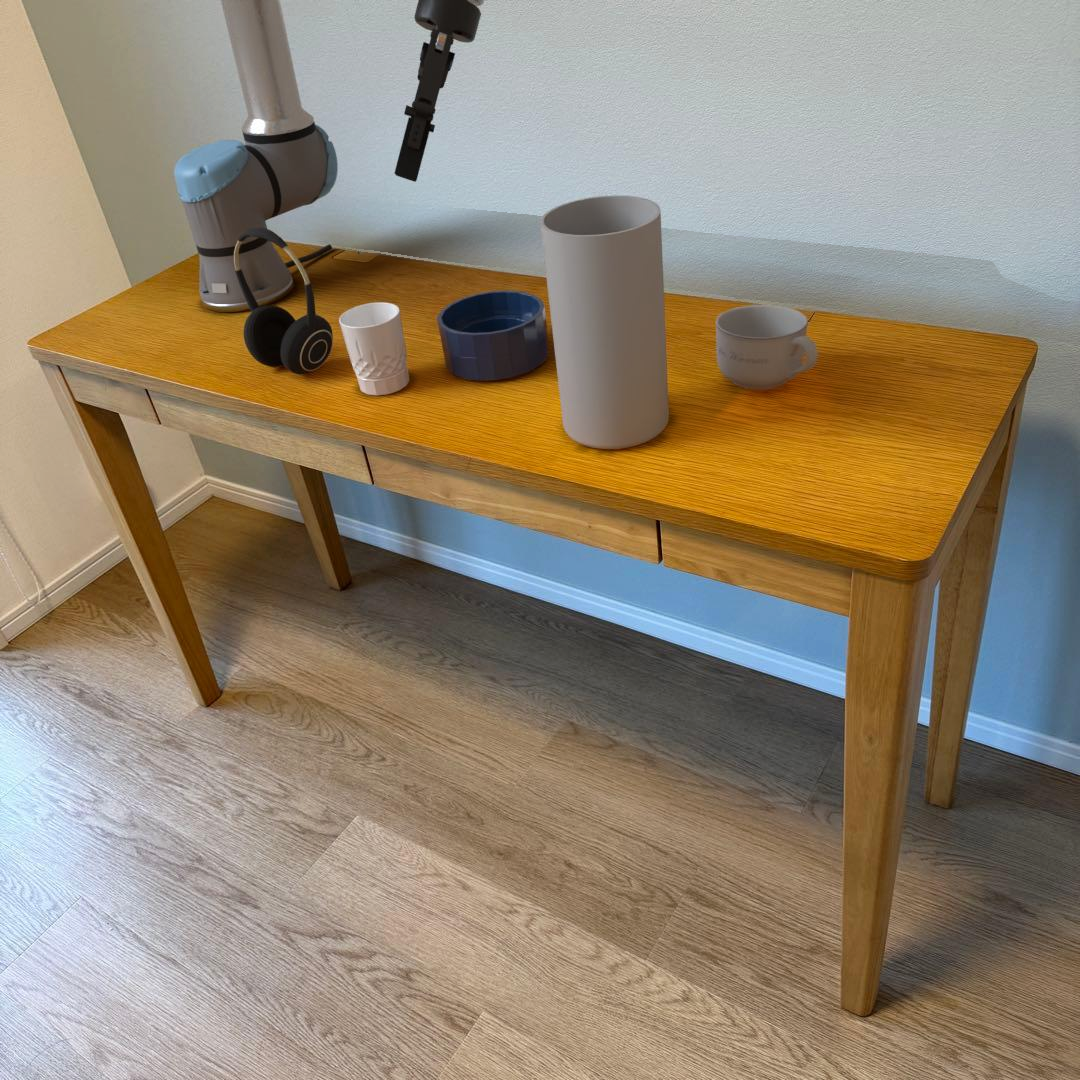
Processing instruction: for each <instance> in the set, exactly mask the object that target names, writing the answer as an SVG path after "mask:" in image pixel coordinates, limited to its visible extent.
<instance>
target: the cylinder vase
mask: <svg viewBox="0 0 1080 1080" xmlns="http://www.w3.org/2000/svg"><path fill="white" fill-rule="evenodd" d="M539 222H540V232H541V242H542V249H543V258H544V267H545V277H546V287H547V295H548V302H549V312H550V322H551V330H552V339H553V348H554V356H555V357H554V358H555V365H556V375H557V385H558V391H559V401H560V402H559V403H560V411H561V419H562V427H563V429H564V432H565V433H566V435H567V436H568V437H569V438H570V439H571V440H573V441H574V442H576V443H578V444H580V445H582V446H584V447H589V448H592V449H599V450H623V449H627V448H632V447H636V446H639V445H643V444H645V443H647V442H650V441H651V440H653V439H655V438H656V437H658V436H659V435H660V434H661V433H663V431H664V430H665V428H666V426H667V425H668V423H669V418H670V411H669V410H670V408H669V383H668V360H667V359H668V358H667V357H668V355H667V336H666V335H667V334H666V333H667V332H666V331H667V330H666V313H665V311H666V310H665V309H666V308H665V283H664V260H663V238H662V237H663V235H662V234H663V233H662V211H661V206H660V205H659V204H658V203H656V202H655V201H653V200H651V199H648V198H644V197H640V196H633V195H618V194H617V195H599V196H591V197H585V198H579V199H575V200H572V201H568V202H565V203H562V204H559V205H556V206H554V207H552V208H551V209H549V210H547V212H545V213H544V214H543V215H541V218H540V221H539Z"/></svg>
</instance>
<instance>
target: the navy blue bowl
mask: <svg viewBox="0 0 1080 1080" xmlns="http://www.w3.org/2000/svg"><path fill="white" fill-rule="evenodd" d="M436 321H437V325H438V331H439V336H440V343H441V347H442V353H443V358H444V364H445V367H446V370H447V371H449V372H450V374H452V375H453V376H456V377H459V378H462V379H464V380H471V381H479V382H480V381H481V382H482V381H498V380H503V379H511V378H514V377H517V376H521V375H523V374H527V373H529V372H531V371H533V370H534V369H536V368H538V367H540V366H541V365H542V364H543V363H544V362H545V361H546V360H547V359H548V357H549V353H550V342H549V334H548V326H547V325H548V323H547V315H546V307H545V304H544V302H543V300H542V298H540V297H538V296H537V295H535V294H533V293H529V292H527V291H526V292H525V291H520V290H507V289H506V290H492V291H490V290H489V291H485V292H479V293H478V292H477V293H475V294H471V295H468V296H465V297H461V298H459V299H456V300H455V301H453V302H451V303H448V304H447V305H446V306H445V307H444V308H443V309H441V310H440V312H439V313H438V315H437V317H436Z"/></svg>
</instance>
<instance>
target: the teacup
mask: <svg viewBox="0 0 1080 1080" xmlns="http://www.w3.org/2000/svg"><path fill="white" fill-rule="evenodd" d="M808 319H809V318H808V317H807V315H805V314H804V313H802V312H801V311H799V310H797V309H795V308H793V307H789V306H784V305H776V304H752V305H743V306H738V307H733V308H730V309H728V310H726V311H723V312H722V313H721V314H719V315H717V317H716V319H715V327H716V332H715V333H716V334H715V335H716V338H715V345H716V347H715V348H716V349H715V350H716V351H715V352H716V353H715V354H716V362H717V363H716V364H717V366H718V369H719V371H720V373H721V374H722V375H723V376H724V377H725V378H727V379H728V380H729V381H731V383H733V384H734V385H736V386H737V387H739V388H743V389H747V390H754V391H764V390H765V391H767V390H771V389H772V390H773V389H776V388H779V387H781V386H783V385H784V384H786V383H787V382H788V381H790V380H794V379H797V377H798V375H802V374H804V373H806V372H808V371H810V370H811V369H813V368H814V367H815V366H816V364H817V361H818V359H819V358H818V357H819V352H818V348H817V345H816V343H815V342H814V340H813V339H811V338H810V337H809V336H807V329H808V326H809V320H808ZM804 357H805V358H804ZM804 359H805V361H804ZM803 362H804V363H803Z"/></svg>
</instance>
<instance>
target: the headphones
mask: <svg viewBox="0 0 1080 1080" xmlns="http://www.w3.org/2000/svg"><path fill="white" fill-rule="evenodd" d="M250 236H253V237H259V238H264V239H266V240H268V241H270V242H271V243H272V244H273V245H275V246H277V247H279V248H280V249H281V250H284V252H286V254H287V255H288V256H289V257H290V259H292V260H293V261H294V262H295V264H296V265H295V266H296V267H297V268H298V270H299V272H300V274H301V276H302V278H303V281H304V284H303V285H304V291H305V297H306V314H305V315H303V316H301V317H299V318H297V319H295V318H294V316H293V315H292V314H291V313H290V312H289V311H287V310H286V309H284V308H283V307H280V306H278V305H275V304H268V305H265V306H262V307H259V305H258V303H257V302H256V300H255V298H254V296H253V294H252V292H251V290H250V288H249V286H248V284H247V282H246V280H245V277H244V275H243V272H242V270H241V269H240V266H239V259H238V254H239V248H240V245H241V243H242V241H244V240H245V239H246V238H247V237H250ZM298 258H299V257H297V256H296V254H295V253H294V252H293V251H292V249H291V248H290V247H289V245H288V243H286V241H285V240H284V239H283V238H282V237H280V236H279V235H278V234H277V233H275V232H274V231H273V230H271V229H268V228H267V229H266V228H251V229H248V230H246V231H244V232H243V233H241V235H240V236H239V238H238V242H237V244H236V247H235V250H234V264H235V269H236V270H235V272H236V275H237V278H238V281H239V284H240V287H241V289H242V292H243V294H244V297H245V299H246V301H247V304H248V306H249V308H250V310H249V311H250V313H249V315H248V316H247V317H246V319H245V322H244V326H243V340H244V344H245V346H246V349H247V351H248V352H249V354H250V356H251V357H252V358H253V359H254V360H256V361H257V362H258V363H259V364H260V365H263V366H265V367H270V368H280V367H285V369H287V370H288V371H289V372H291V373H292V374H296V375H300V376H302V375H303V376H304V375H307V374H310V373H313V372H314V371H316V370H318V369H320V367H322V366H323V365H324V364H325V363H326V362H327V360H328V359H329V357H330V355H331V353H332V350H333V344H334V334H333V329H332V325H331V324H330V323H329V322H328V320H327V319H325V318H324V317H323V316H321V315H318V314H317V313H316V312H317V311H316V303H315V296H314V291H313V287H312V283H311V281H310V279H309V276H308V274H307V271H306V269H305V267H304V266H303V263H300V261H299V260H298Z"/></svg>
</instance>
